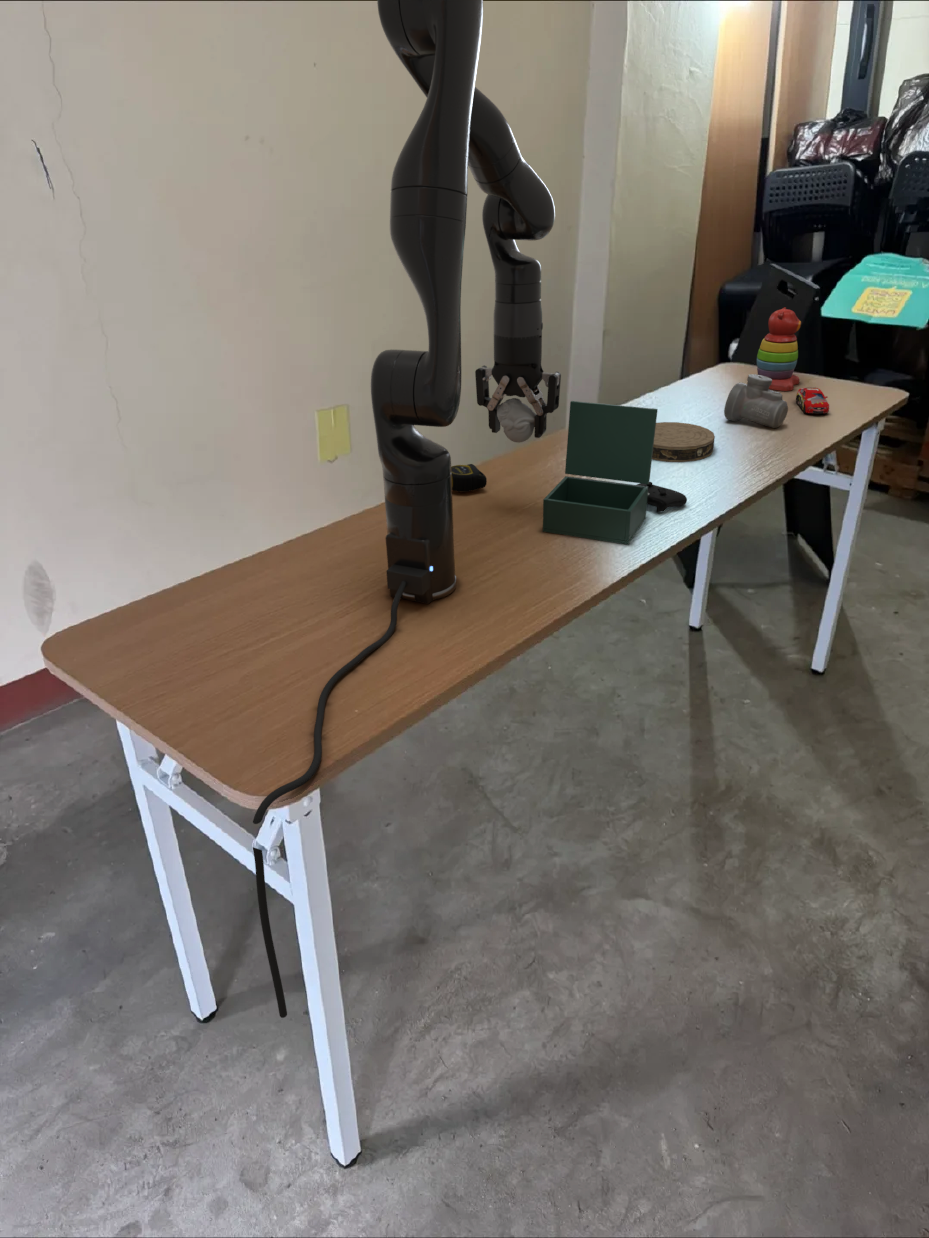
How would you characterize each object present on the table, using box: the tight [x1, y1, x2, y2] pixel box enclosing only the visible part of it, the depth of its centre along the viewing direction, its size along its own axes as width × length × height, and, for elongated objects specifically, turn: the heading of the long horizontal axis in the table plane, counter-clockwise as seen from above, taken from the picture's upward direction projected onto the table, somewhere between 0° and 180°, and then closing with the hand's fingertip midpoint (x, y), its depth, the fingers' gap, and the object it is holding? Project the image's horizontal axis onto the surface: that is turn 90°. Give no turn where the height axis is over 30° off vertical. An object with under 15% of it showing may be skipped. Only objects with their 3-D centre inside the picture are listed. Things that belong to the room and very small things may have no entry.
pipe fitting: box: [723, 373, 789, 429], centre depth 184 cm, size 12×8×10 cm
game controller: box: [636, 481, 688, 513], centre depth 148 cm, size 10×5×6 cm
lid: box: [564, 400, 658, 484], centre depth 141 cm, size 12×14×1 cm
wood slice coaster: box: [652, 421, 716, 463], centre depth 173 cm, size 16×16×3 cm
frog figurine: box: [497, 397, 536, 444], centre depth 141 cm, size 6×7×7 cm
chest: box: [542, 475, 648, 545], centre depth 141 cm, size 11×14×6 cm
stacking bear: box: [756, 307, 802, 392], centre depth 209 cm, size 11×10×18 cm
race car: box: [795, 387, 830, 415], centre depth 194 cm, size 13×5×4 cm, turn 171°
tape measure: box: [451, 463, 488, 493], centre depth 157 cm, size 7×7×4 cm
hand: (517, 433), depth 142 cm, fingers closed on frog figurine, 7 cm apart
